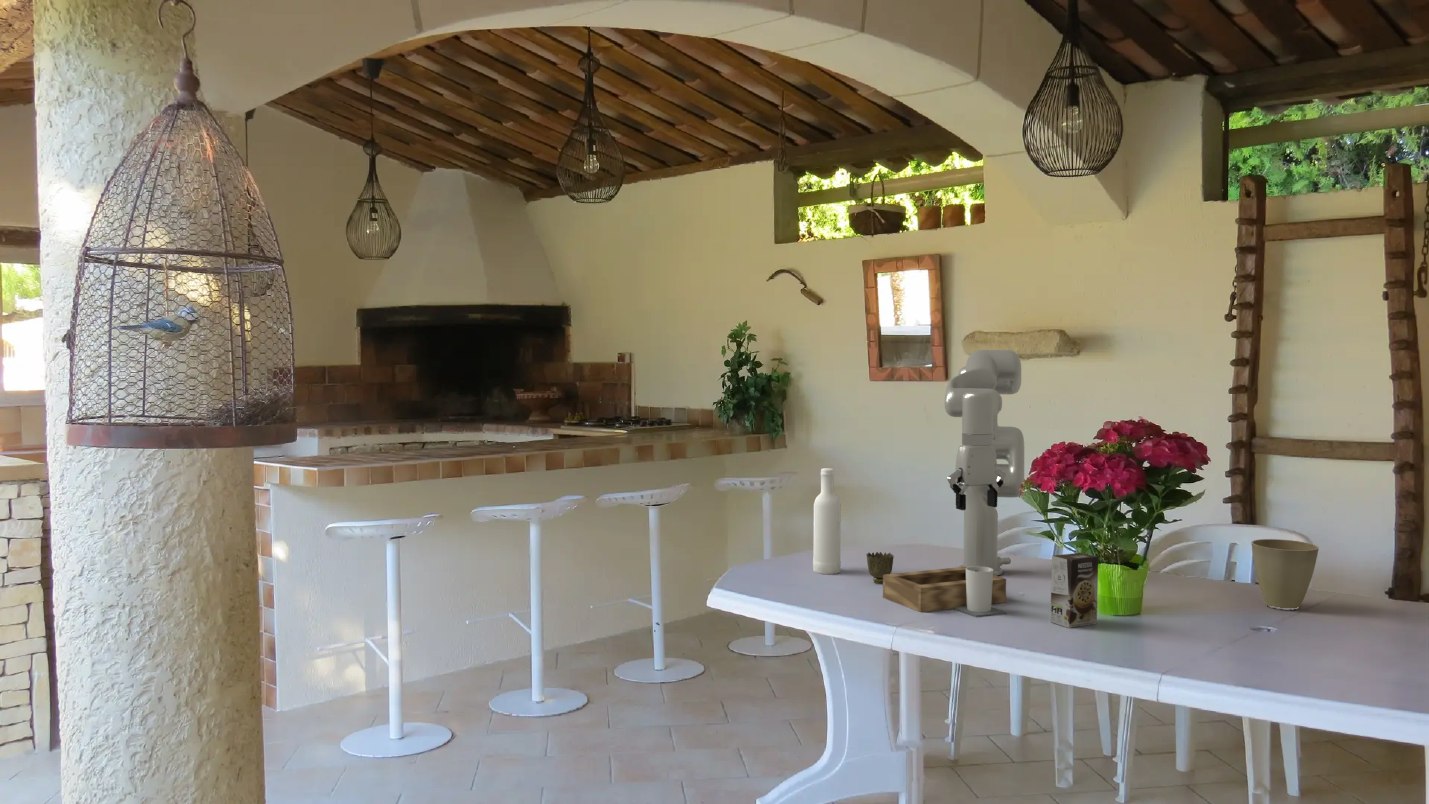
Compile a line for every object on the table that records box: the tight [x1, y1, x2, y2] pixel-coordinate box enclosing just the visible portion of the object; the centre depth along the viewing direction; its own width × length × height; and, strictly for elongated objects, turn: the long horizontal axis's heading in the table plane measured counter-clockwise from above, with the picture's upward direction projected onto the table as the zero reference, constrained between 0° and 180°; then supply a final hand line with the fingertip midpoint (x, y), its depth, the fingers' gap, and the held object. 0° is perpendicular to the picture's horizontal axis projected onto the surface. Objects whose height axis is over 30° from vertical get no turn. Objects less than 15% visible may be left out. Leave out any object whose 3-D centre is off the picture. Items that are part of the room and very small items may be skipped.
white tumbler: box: [966, 566, 993, 612], centre depth 268 cm, size 7×7×10 cm
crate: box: [882, 566, 1007, 613], centre depth 280 cm, size 26×17×6 cm, turn 114°
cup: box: [866, 551, 895, 585], centre depth 300 cm, size 8×7×8 cm
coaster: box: [953, 606, 1007, 618], centre depth 268 cm, size 9×9×1 cm
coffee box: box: [1049, 552, 1099, 629], centre depth 256 cm, size 9×6×16 cm
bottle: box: [812, 467, 842, 575], centre depth 314 cm, size 8×8×30 cm
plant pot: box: [1251, 538, 1320, 608], centre depth 271 cm, size 15×15×16 cm
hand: (976, 507), depth 273 cm, fingers open, 9 cm apart
